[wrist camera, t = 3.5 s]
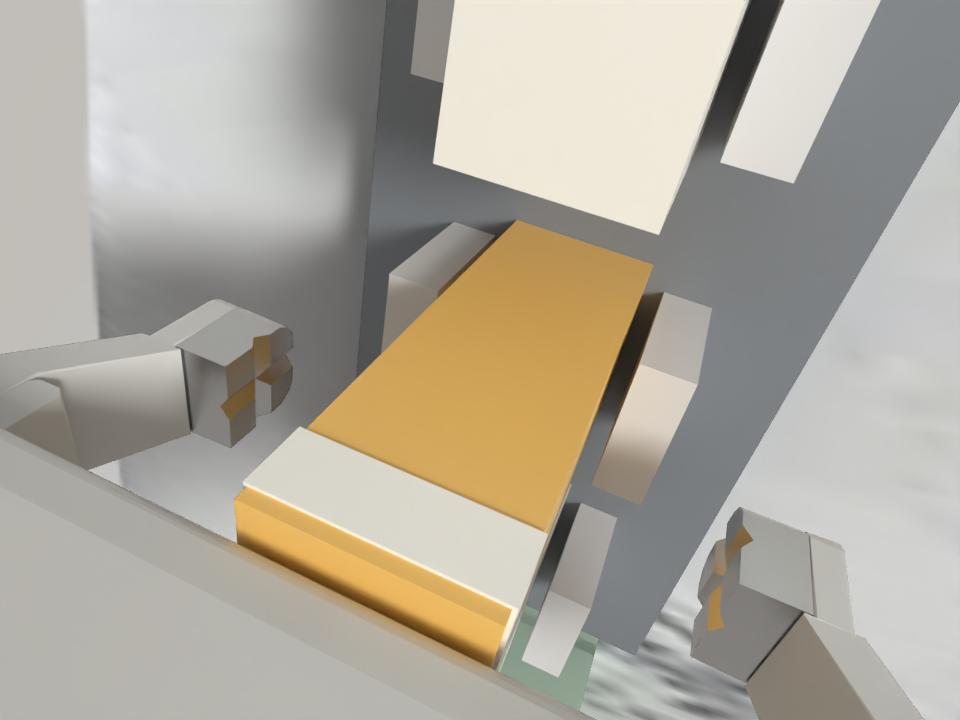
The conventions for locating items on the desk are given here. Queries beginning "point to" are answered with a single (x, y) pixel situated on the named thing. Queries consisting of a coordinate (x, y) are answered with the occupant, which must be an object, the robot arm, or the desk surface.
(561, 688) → the tray
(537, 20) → the fuse block
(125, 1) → the desk surface
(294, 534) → the block
